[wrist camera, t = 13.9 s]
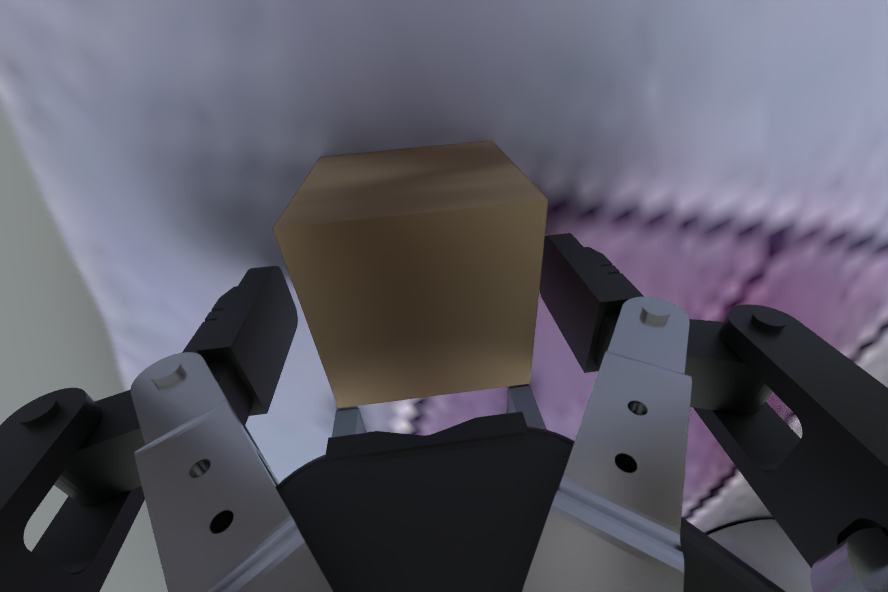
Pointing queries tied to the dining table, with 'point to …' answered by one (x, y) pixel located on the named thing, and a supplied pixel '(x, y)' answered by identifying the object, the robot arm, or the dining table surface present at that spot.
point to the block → (417, 270)
